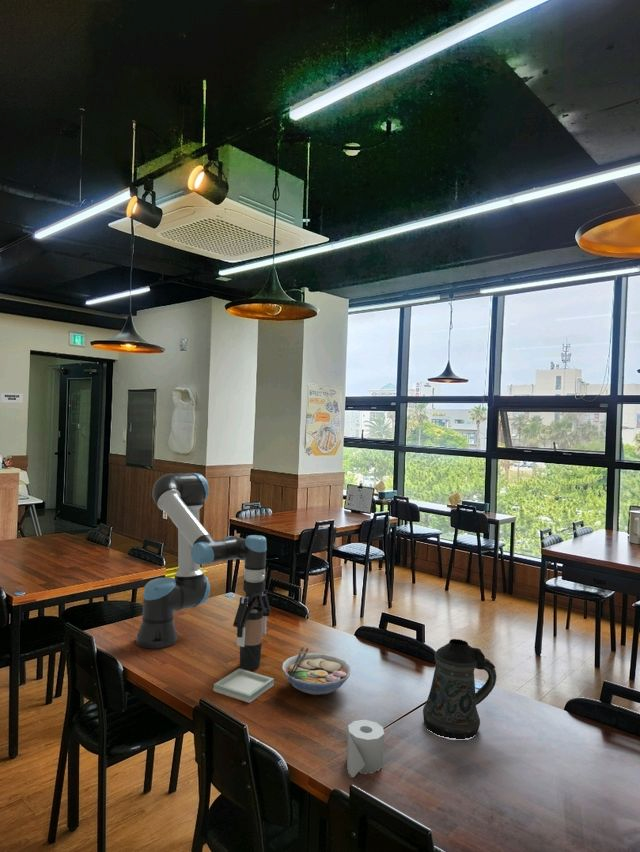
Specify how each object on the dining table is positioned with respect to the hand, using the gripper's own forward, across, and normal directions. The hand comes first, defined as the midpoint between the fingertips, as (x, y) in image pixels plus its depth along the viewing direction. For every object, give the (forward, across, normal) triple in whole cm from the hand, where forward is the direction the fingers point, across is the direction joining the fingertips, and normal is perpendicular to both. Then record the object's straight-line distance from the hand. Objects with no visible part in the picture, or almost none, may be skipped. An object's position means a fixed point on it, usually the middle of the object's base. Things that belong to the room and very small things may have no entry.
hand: (251, 639), depth 195 cm
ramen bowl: (+10, -3, -28) cm, 29 cm away
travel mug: (+10, 0, 0) cm, 10 cm away
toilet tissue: (+10, -33, -56) cm, 66 cm away
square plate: (+9, -15, -8) cm, 19 cm away
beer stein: (+11, 0, -72) cm, 73 cm away
